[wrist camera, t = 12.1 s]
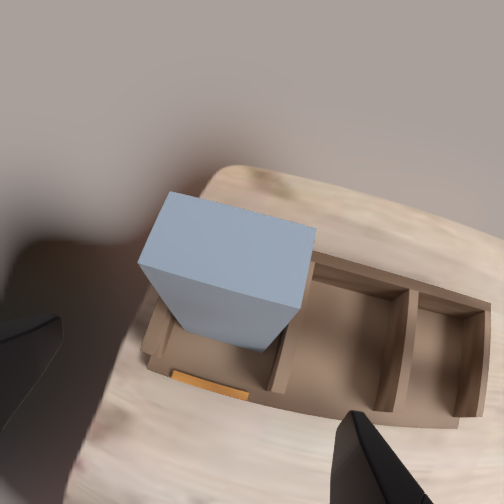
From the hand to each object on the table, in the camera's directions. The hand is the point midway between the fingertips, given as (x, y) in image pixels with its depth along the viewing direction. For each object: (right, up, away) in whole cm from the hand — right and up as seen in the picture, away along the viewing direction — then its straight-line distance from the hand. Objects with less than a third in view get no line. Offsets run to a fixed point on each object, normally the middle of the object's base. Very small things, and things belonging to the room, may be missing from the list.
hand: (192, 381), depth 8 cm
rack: (+8, -3, +14) cm, 16 cm away
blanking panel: (0, -1, +13) cm, 13 cm away
